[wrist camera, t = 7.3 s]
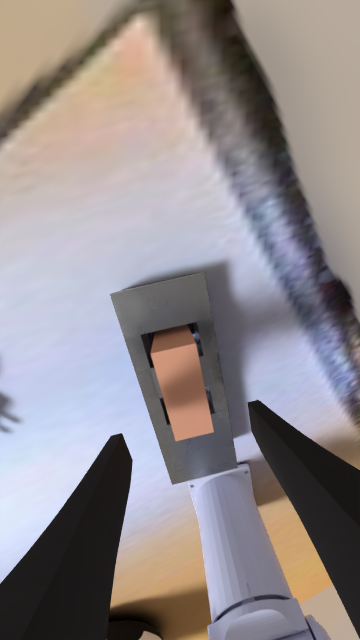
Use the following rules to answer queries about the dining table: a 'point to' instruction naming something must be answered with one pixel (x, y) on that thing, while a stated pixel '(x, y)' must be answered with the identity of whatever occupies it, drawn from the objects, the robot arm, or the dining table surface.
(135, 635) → the milk container
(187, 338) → the orange u-shaped block
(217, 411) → the gray rectangular frame
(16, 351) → the dining table surface
